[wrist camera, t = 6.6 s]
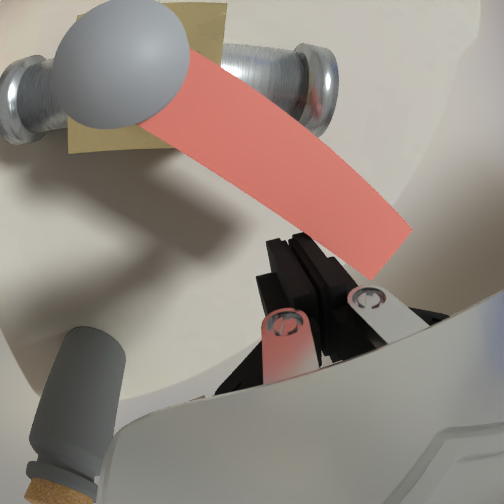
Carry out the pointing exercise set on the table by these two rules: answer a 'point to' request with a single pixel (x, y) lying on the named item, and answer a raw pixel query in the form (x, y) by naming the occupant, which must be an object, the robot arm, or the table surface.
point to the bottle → (75, 419)
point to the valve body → (203, 42)
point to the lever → (219, 126)
